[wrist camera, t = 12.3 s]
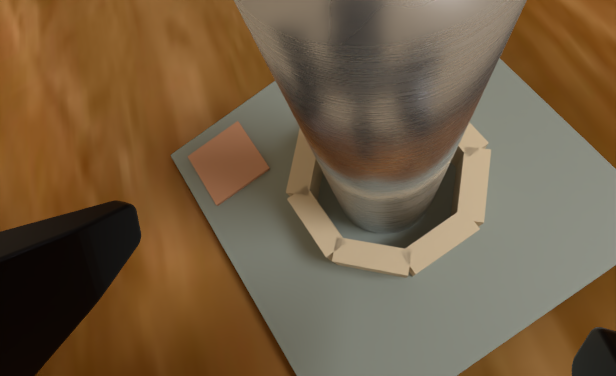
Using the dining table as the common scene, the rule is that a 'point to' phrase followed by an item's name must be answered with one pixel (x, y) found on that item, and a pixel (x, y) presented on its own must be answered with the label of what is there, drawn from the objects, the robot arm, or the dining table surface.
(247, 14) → the silver metal cylinder
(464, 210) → the socket board
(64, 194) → the dining table surface
